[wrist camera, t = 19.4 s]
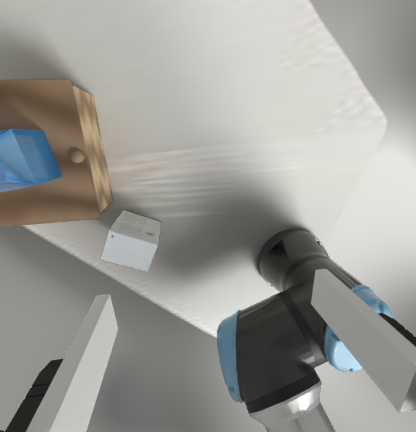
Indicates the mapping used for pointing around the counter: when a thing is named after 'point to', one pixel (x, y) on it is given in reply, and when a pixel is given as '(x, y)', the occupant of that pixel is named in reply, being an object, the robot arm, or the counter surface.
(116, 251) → the small box
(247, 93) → the counter surface
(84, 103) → the box
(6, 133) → the perfume bottle
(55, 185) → the lid
